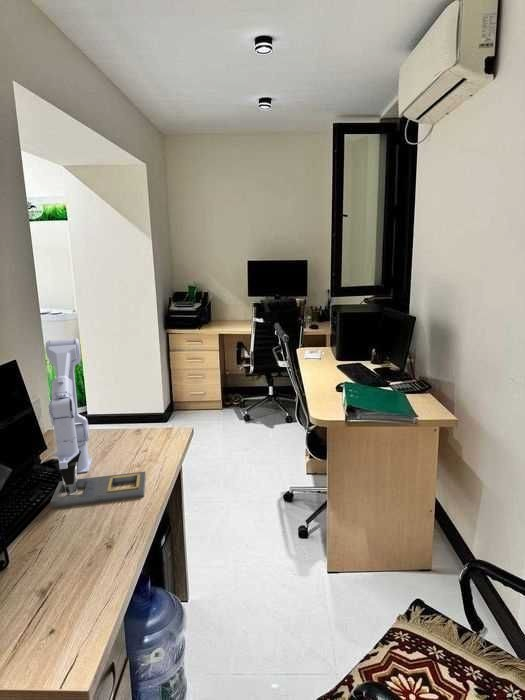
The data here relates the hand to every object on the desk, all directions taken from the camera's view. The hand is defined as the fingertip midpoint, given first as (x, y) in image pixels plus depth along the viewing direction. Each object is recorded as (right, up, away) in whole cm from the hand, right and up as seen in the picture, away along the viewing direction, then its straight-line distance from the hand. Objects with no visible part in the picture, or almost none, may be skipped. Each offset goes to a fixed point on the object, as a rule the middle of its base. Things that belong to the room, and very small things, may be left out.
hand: (71, 479), depth 138 cm
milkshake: (0, -4, +1) cm, 4 cm away
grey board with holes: (+8, -4, +3) cm, 9 cm away
